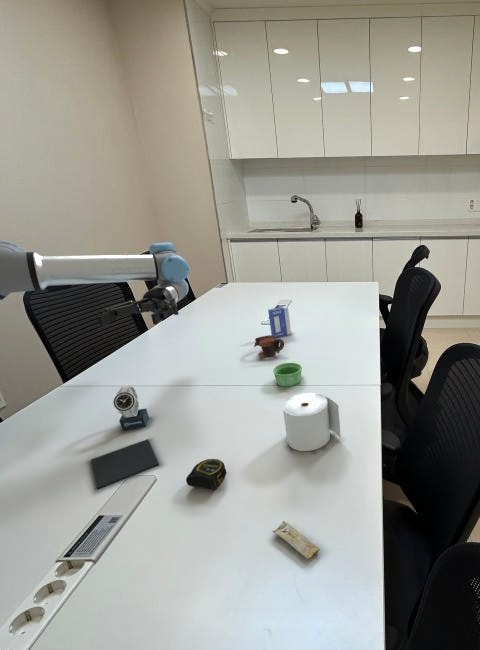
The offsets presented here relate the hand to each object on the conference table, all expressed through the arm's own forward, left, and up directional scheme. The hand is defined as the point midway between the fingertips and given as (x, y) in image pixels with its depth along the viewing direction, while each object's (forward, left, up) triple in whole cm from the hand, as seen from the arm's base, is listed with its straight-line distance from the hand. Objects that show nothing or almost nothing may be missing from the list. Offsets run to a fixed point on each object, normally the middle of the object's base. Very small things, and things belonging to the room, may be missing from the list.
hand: (127, 321), depth 102 cm
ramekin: (+13, +38, -26) cm, 48 cm away
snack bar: (+69, +10, -26) cm, 74 cm away
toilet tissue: (+44, +28, -26) cm, 58 cm away
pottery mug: (-11, +43, -26) cm, 51 cm away
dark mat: (+24, -10, -26) cm, 37 cm away
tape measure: (+44, +3, -26) cm, 51 cm away
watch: (+8, -5, -26) cm, 28 cm away
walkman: (-26, +55, -26) cm, 66 cm away
